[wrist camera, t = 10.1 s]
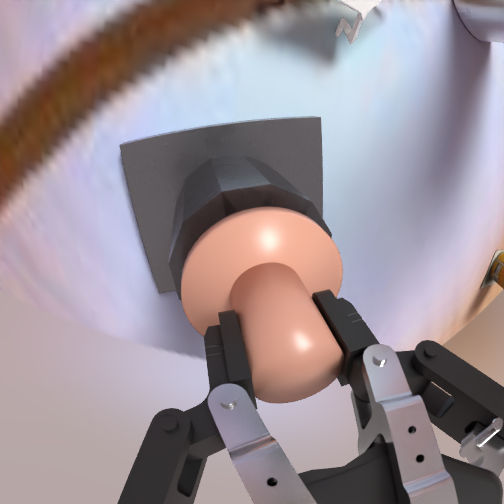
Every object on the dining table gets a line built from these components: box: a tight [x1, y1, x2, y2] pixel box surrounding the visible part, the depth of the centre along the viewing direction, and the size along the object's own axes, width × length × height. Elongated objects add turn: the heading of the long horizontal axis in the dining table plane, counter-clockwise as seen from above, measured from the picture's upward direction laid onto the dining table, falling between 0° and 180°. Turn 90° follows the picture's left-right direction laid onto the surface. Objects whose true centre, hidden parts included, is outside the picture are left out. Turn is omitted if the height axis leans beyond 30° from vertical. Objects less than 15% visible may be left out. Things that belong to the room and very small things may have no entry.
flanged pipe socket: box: [120, 116, 332, 301], centre depth 20 cm, size 16×14×10 cm
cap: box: [181, 207, 344, 403], centre depth 13 cm, size 8×8×8 cm
